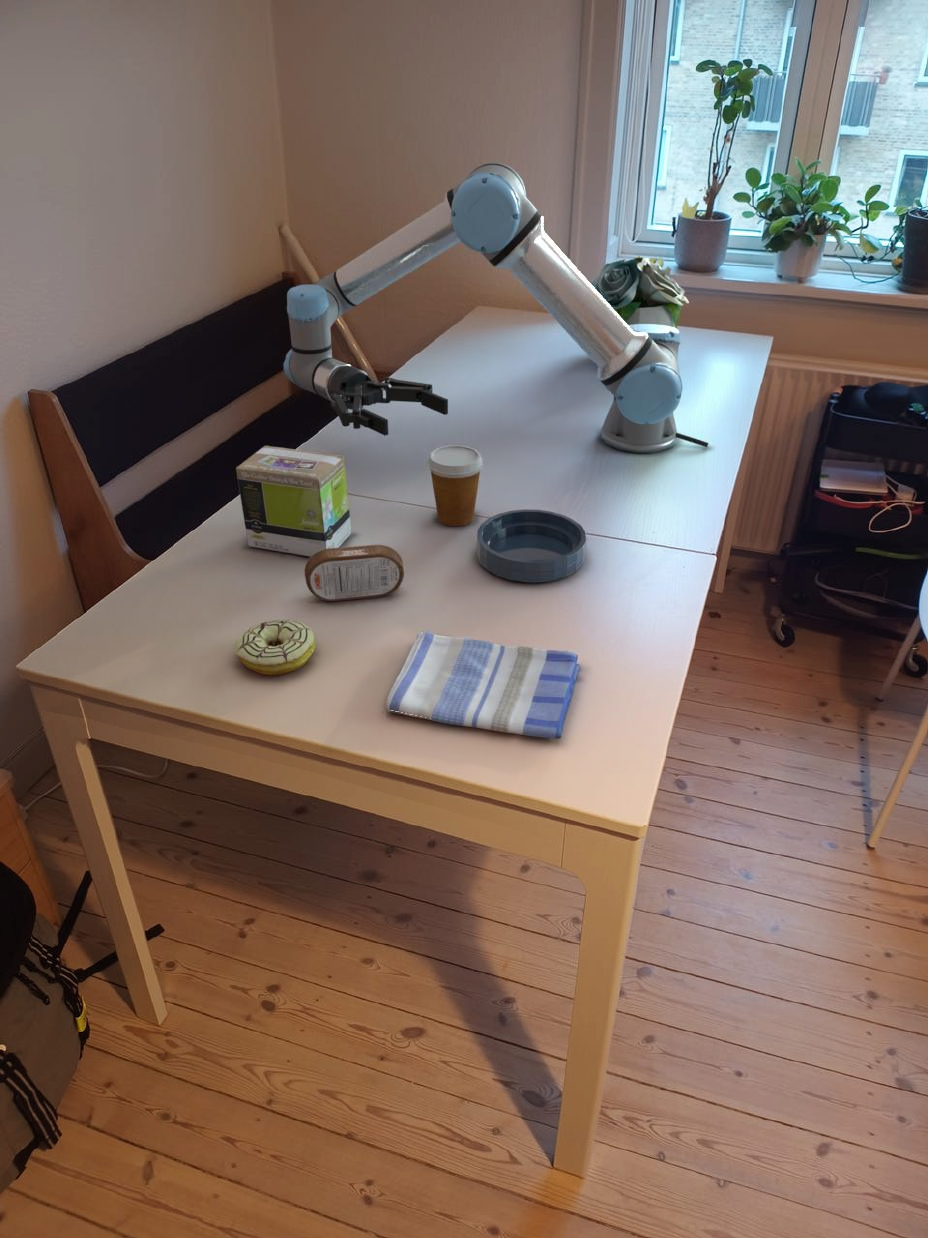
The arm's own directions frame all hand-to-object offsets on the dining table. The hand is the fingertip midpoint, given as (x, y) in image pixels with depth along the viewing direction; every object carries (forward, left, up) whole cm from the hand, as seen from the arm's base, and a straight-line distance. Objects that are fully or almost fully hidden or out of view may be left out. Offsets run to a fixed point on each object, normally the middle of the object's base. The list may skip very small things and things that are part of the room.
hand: (417, 417), depth 163 cm
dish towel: (-13, +55, -16) cm, 59 cm away
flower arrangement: (-46, -79, -16) cm, 93 cm away
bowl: (-20, +20, -16) cm, 32 cm away
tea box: (+19, +16, -16) cm, 30 cm away
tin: (+7, +33, -16) cm, 37 cm away
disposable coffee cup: (-7, +7, -16) cm, 19 cm away
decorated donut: (+16, +49, -16) cm, 54 cm away
